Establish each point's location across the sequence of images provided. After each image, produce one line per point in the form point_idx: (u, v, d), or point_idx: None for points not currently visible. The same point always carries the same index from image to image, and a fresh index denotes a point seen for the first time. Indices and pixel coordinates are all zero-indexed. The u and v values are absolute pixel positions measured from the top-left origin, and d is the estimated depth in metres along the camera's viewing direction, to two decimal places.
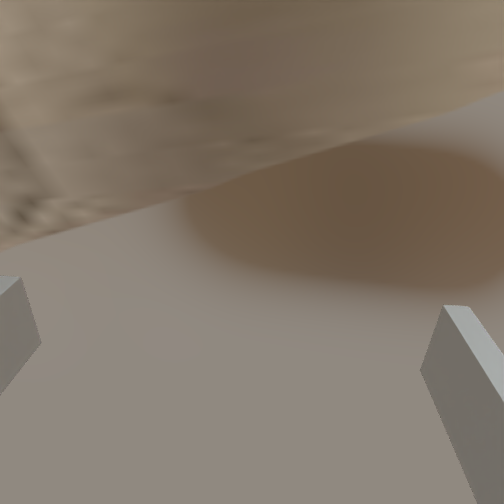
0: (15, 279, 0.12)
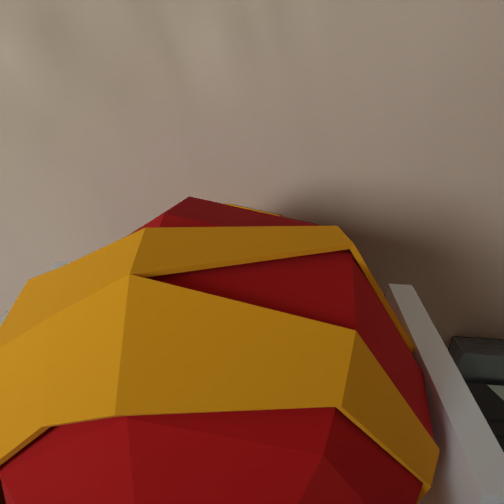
0: None
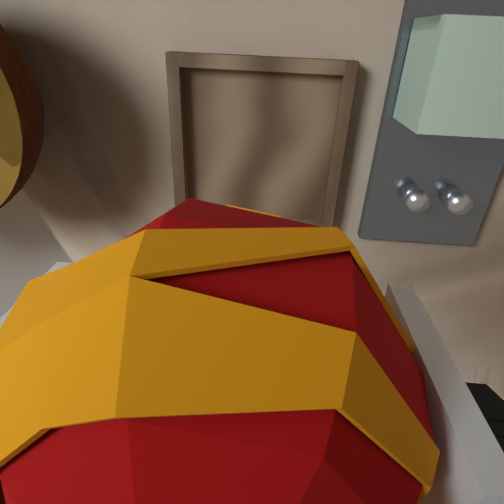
0: None
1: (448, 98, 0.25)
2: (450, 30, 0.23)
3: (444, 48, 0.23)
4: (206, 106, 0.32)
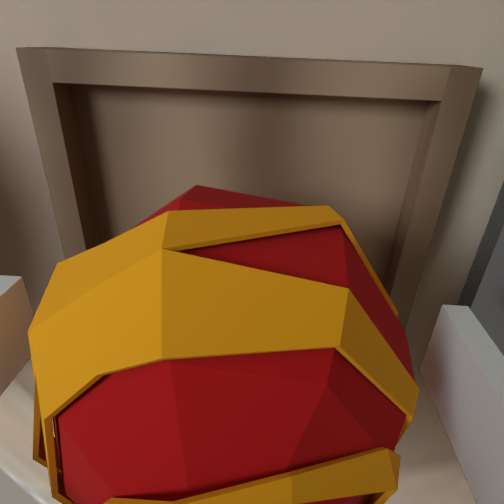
0: (15, 279, 0.12)
1: None
2: None
3: None
4: (131, 163, 0.15)
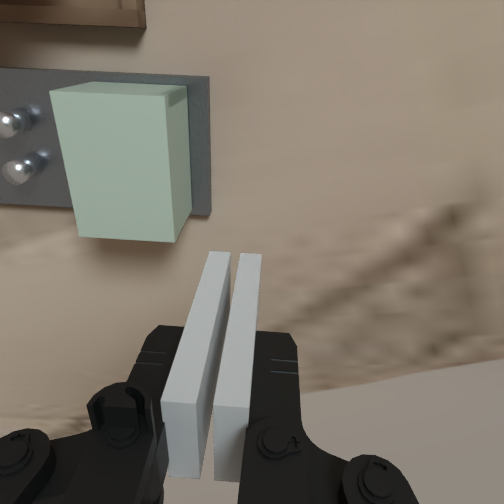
0: (227, 254, 0.13)
1: (92, 118, 0.23)
2: (151, 104, 0.23)
3: (135, 102, 0.23)
4: None
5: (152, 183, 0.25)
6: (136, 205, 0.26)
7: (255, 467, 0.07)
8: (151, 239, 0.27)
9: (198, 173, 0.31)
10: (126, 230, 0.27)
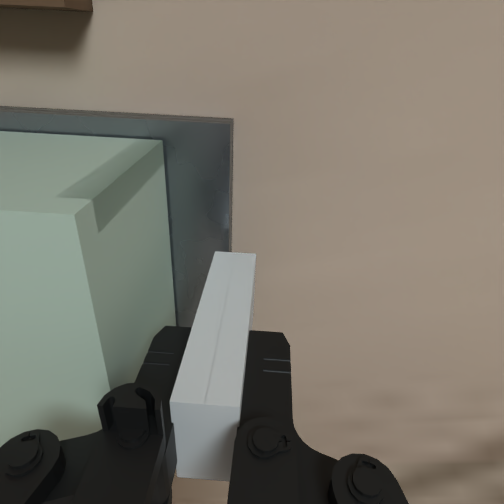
0: (233, 254, 0.13)
1: None
2: (37, 234, 0.07)
3: None
4: None
5: (66, 403, 0.10)
6: None
7: (245, 466, 0.07)
8: None
9: None
10: None
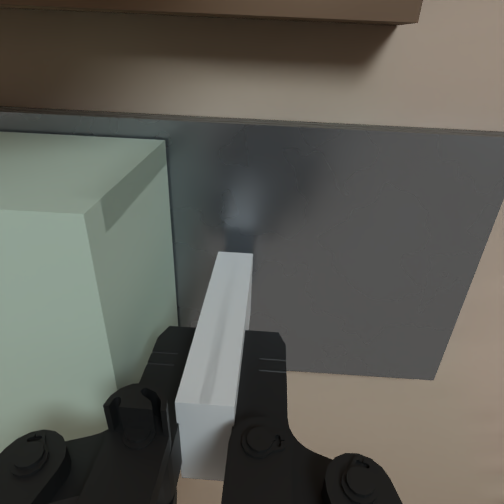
0: (236, 255, 0.13)
1: None
2: (46, 234, 0.07)
3: None
4: None
5: (73, 403, 0.10)
6: None
7: (239, 466, 0.07)
8: None
9: (436, 314, 0.16)
10: None
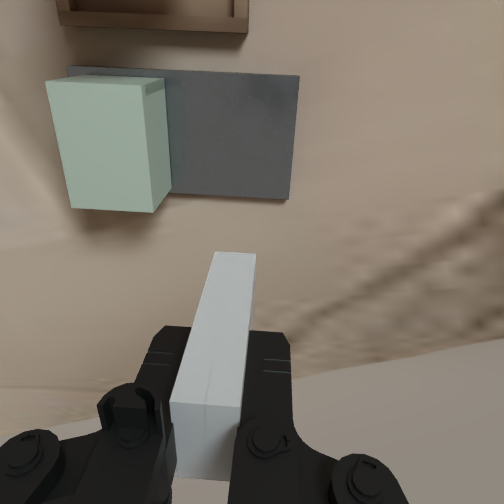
0: (233, 254, 0.13)
1: (81, 105, 0.28)
2: (130, 92, 0.27)
3: (117, 90, 0.27)
4: None
5: (132, 160, 0.30)
6: (120, 179, 0.30)
7: (245, 466, 0.07)
8: (133, 210, 0.32)
9: (282, 161, 0.35)
10: (111, 202, 0.31)
